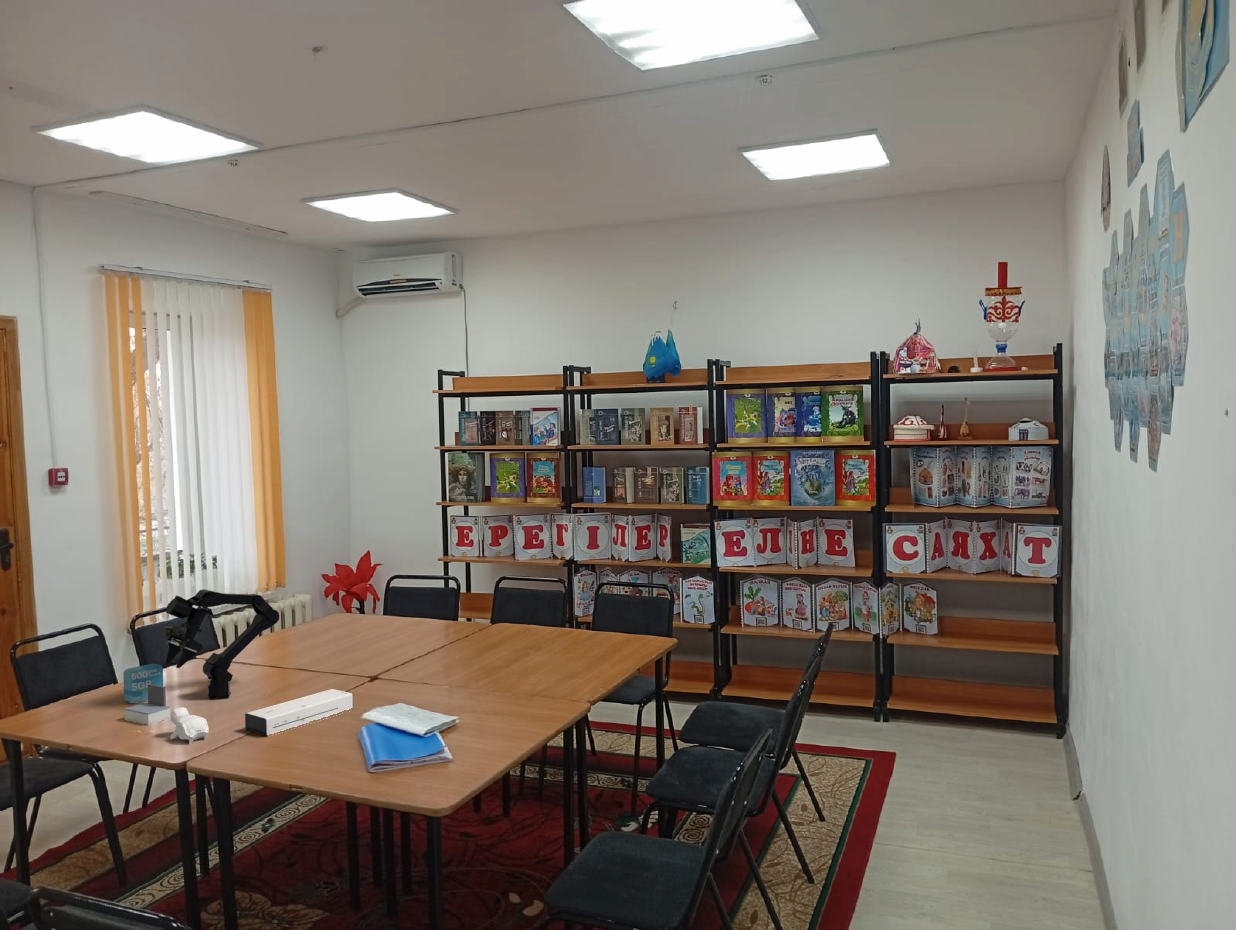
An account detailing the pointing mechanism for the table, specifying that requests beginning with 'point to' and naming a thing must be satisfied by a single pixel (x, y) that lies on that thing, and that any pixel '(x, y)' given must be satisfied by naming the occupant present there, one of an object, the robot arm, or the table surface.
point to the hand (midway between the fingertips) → (172, 665)
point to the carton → (147, 717)
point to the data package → (141, 681)
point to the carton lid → (152, 701)
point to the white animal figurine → (188, 725)
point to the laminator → (298, 711)
